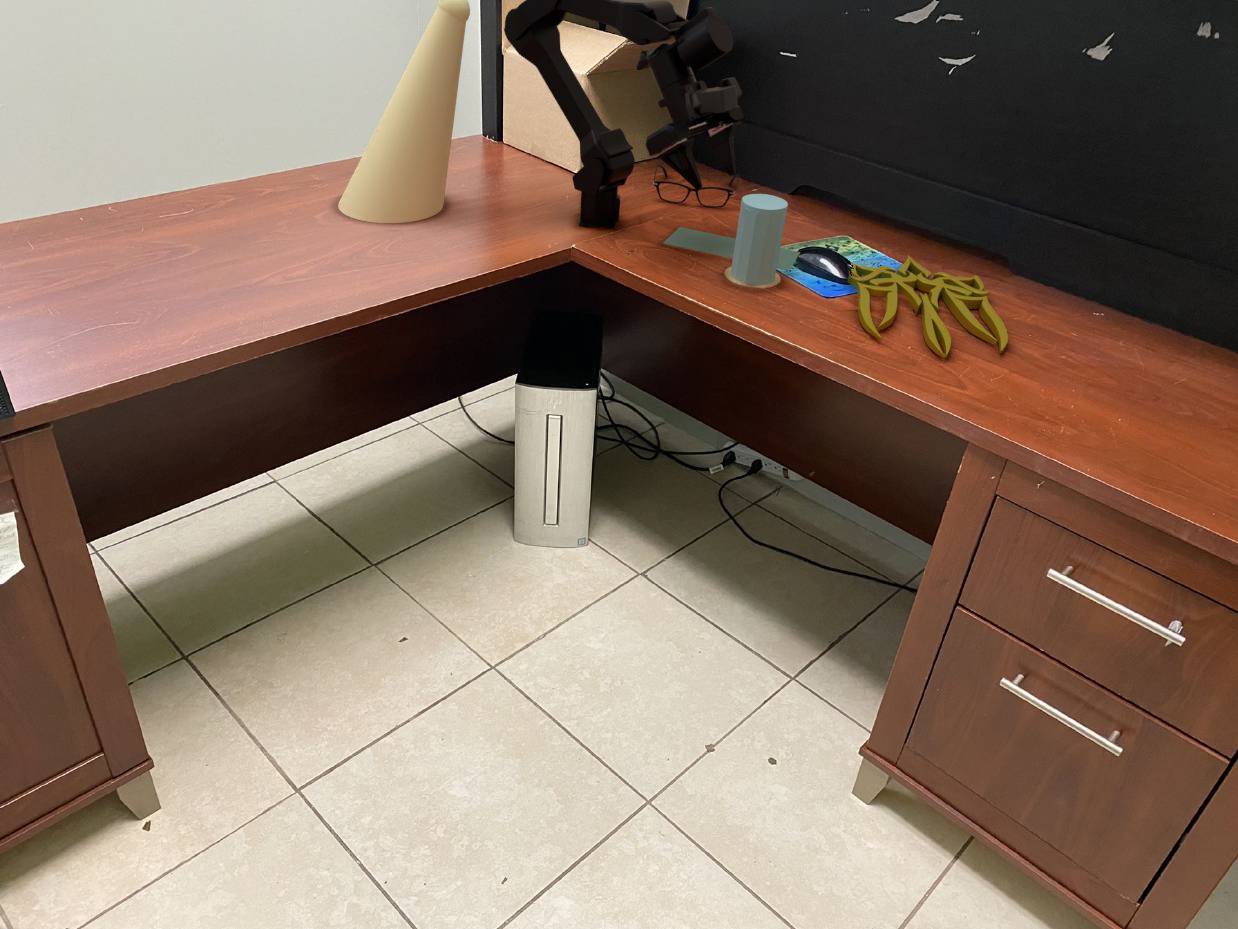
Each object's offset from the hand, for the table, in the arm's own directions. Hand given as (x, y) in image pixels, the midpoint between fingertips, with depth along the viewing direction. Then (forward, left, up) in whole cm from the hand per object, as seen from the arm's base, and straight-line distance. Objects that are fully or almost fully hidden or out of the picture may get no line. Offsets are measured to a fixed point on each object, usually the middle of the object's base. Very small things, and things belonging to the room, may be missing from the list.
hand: (716, 181), depth 136 cm
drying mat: (+4, +5, -13) cm, 14 cm away
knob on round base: (+7, -7, -13) cm, 16 cm away
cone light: (-53, +13, -13) cm, 56 cm away
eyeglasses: (-1, +33, -13) cm, 36 cm away
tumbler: (+7, -7, -12) cm, 16 cm away
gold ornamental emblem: (+33, -13, -13) cm, 38 cm away
